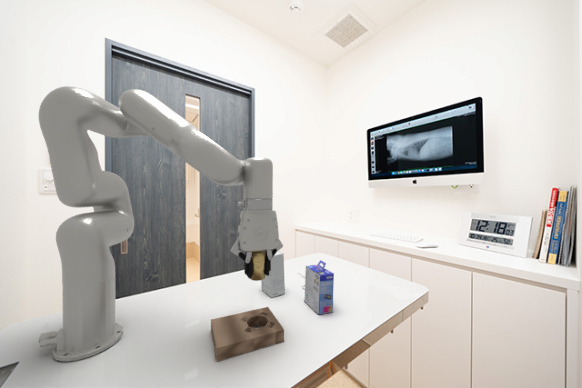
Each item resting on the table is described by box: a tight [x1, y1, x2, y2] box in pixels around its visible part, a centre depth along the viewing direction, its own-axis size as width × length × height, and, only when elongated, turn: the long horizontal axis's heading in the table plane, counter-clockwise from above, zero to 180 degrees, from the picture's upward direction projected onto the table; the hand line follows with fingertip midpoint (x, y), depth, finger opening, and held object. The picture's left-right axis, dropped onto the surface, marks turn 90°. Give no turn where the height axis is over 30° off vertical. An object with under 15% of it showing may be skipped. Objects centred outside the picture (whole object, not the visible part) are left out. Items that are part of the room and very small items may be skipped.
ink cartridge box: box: [304, 259, 335, 316], centre depth 73 cm, size 10×6×14 cm, turn 24°
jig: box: [210, 306, 285, 362], centre depth 58 cm, size 16×12×3 cm
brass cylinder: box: [250, 250, 266, 282], centre depth 59 cm, size 4×4×7 cm
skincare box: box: [260, 251, 286, 298], centre depth 83 cm, size 8×6×15 cm
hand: (257, 274), depth 59 cm, fingers closed on brass cylinder, 4 cm apart
